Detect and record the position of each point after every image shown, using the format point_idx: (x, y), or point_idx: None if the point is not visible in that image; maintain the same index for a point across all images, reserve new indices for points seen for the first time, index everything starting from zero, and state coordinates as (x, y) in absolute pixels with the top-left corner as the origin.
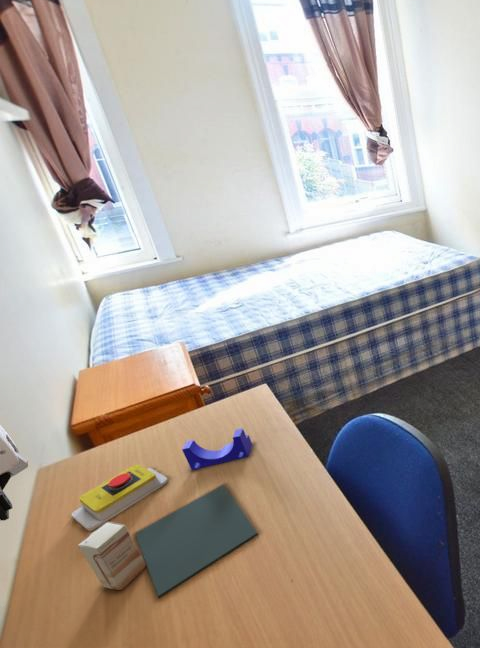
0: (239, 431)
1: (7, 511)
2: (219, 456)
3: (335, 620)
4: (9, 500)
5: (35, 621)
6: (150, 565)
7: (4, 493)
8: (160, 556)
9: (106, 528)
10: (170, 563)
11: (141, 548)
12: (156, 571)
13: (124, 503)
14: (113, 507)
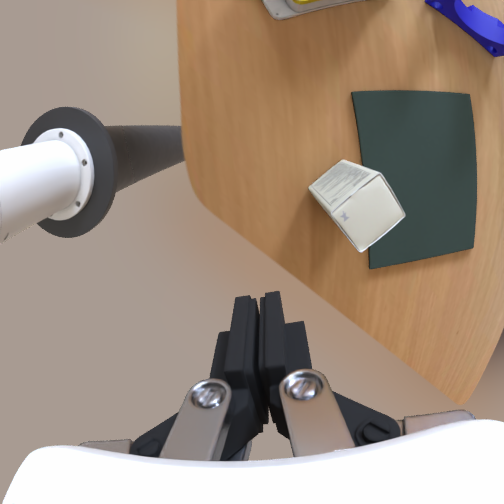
0: None
1: (284, 323)
2: (470, 25)
3: (449, 379)
4: (305, 330)
5: (221, 188)
6: None
7: (309, 356)
8: None
9: (378, 199)
10: None
11: (362, 144)
12: None
13: (333, 1)
14: (319, 3)
